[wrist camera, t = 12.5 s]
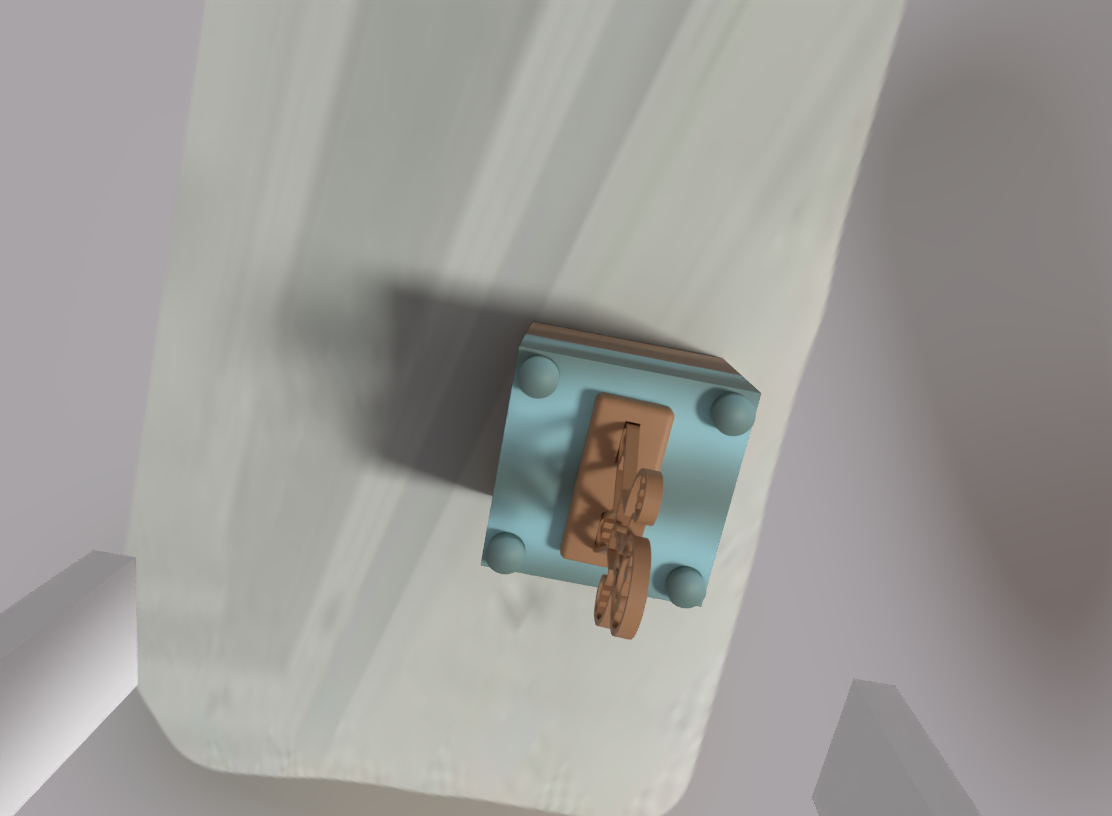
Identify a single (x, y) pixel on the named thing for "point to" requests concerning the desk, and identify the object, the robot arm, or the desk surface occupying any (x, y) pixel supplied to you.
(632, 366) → the teal and brown block
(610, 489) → the lever handle backplate
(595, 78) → the desk surface
